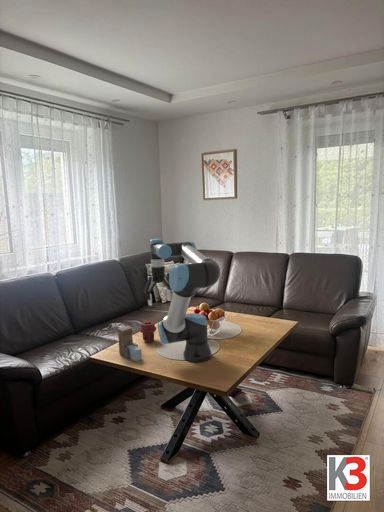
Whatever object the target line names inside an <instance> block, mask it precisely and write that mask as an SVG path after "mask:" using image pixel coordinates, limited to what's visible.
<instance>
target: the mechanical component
mask: <svg viewBox="0 0 384 512" xmlns="http://www.w3.org/2000/svg"><path fill="white" fill-rule="evenodd" d="M156 331H157V327H156V325H155V321H152V320H145V321H143V322H141V323H140V328H139V332H140V333H141V334H142V340H143V341H145V343H147V344H149V343H150V342H153V341H155V332H156Z"/></svg>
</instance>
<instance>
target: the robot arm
mask: <svg viewBox="0 0 384 512" xmlns="http://www.w3.org/2000/svg"><path fill="white" fill-rule="evenodd" d="M149 247H150V248H149V251H150V263H151V264H150V265H151V267H150V269H151V275H150V276H149V275H148V276H147V278H146V283H145V286H144V289H143V292H142V293H143V294H145V296H146V300H147V304H148V306H150V307H151V306H153V297H152V291H153V289H154V287H156V285H157V284H159V283H162V284H163V285H164V286H165V287H166V288H167V289H166V300H167V301H169V302H170V305H169V308H168V312H167V315H165V316H164V317H163V320H162V321H161V320H160V321H158V323H157V332H158V336H159V339H160V342H161V343H162V344H163V345H166V344H167V345H168V344H174V343H179V342H185V347H184V350H183V354H182V355H183V359H184V360H185V361H188V362H190V363H191V362H192V363H204V362H206V361H209V360H210V359H211V358H212V351H211V348H210V344H209V342H208V339H209V338H208V320H207V319H208V318H207V317H206V316H205V315H203V314H201V313H187V312H188V308H189V305H190V302H191V298H193V297H194V296H195V295H196V293H197V290H198V289H206V288H209V287H210V288H211V287H212V286H214V285H215V284H216V283H217V282H218V281H219V280H220V276H221V272H222V271H221V267H220V265H219V263H217V261H215V260H214V259H212V258H209V257H207V256H205V255H204V254H203V253H201V252H200V251H199V250H197V248H196V247H197V246H196V244H195V242H193V241H183V242H172V243H170V242H169V243H164V240H163V238H154V239H153V238H152V239H150V241H149ZM177 257H182V258H183V259H185V260H186V261H187V262H188V263H179V264H175V265H173V266H172V267H171V268H170V271H169V273H168V272H166V270H165V269H166V268H165V260H166V259H168V258H177ZM172 292H173V293H172Z"/></svg>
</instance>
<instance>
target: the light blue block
mask: <svg viewBox="0 0 384 512" xmlns="http://www.w3.org/2000/svg"><path fill="white" fill-rule="evenodd" d="M126 347H128V353H129V358H128V359H130V360H133V361H135V362H139V361H141V360H143V356H142V355H143V354H142V353H143V352H142V348H141V347H139V346H138V347H136V346H134V345H133V344H130V345H126Z"/></svg>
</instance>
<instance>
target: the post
mask: <svg viewBox="0 0 384 512" xmlns="http://www.w3.org/2000/svg"><path fill="white" fill-rule="evenodd" d="M116 330H117V336H118V337H117V338H118V348H119V349H118V352H119V355H121V356H122V358H124V359H126V360H127V359H130V358H129V353H128V347H126V345H130V344H133V345H134V346H136V347H138V348H139V345H138V344H137V343H135V342H134V341H133V327H130V326H128V325H127V326H123V327H122V326H121V327H119V328H117V329H116Z"/></svg>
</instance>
